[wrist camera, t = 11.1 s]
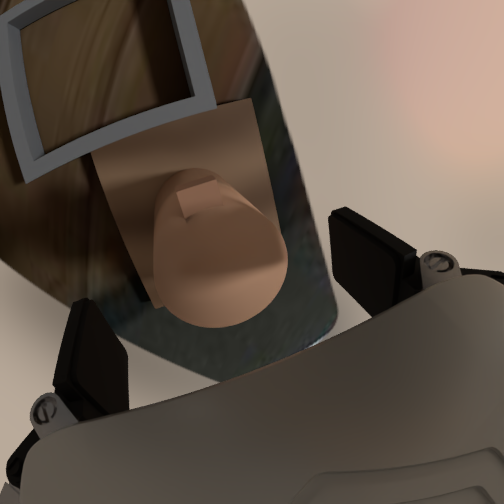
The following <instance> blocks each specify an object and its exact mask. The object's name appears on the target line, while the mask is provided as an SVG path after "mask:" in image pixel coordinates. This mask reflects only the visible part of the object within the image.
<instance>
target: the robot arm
mask: <svg viewBox="0 0 504 504" xmlns="http://www.w3.org/2000/svg"><path fill="white" fill-rule="evenodd" d="M328 223H329V234H330V245H331V258H332V272H333V276H334V278H335V280H336V281H337V282H338V283H339V284H340V285H341V286H342V287H343V288H344V289H345V290H346V291H347V292H348V293H349V294H350V295H351V296H352V297H353V298H354V299H355V300H356V301H357V302H358V303H359V304H360V305H361V306H362V307H363V308H364V309H365V310H366V311H367V312H368V314H369V315H370V316H371V317H372V318H370V319H368V320H366V321H364V322H362V323H360V324H358V325H356V326H354V327H352V328H350V329H348V330H347V331H344V332H342V333H340V334H338V335H336V336H334V337H331V338H330V339H327V340H325V341H323V342H321V343H318V344H316V345H314V346H312V347H309V348H307V349H305V350H303V351H300V352H298V353H296V354H293V355H291V356H289V357H286V358H284V359H281V360H279V361H277V362H274V363H272V364H269V365H267V366H264V367H262V368H259V369H256V370H254V371H251V372H249V373H246V374H243V375H241V376H238V377H235V378H232V379H229V380H227V381H224V382H221V383H218V384H215V385H212V386H209V387H206V388H204V389H200V390H197V391H194V392H191V393H188V394H185V395H181V396H178V397H175V398H171V399H168V400H164V401H161V402H157V403H154V404H150V405H147V406H142V407H139V408H135V409H131V410H129V393H128V392H129V390H128V355H127V352H126V350H125V348H124V347H123V345H122V344H121V342H120V341H119V339H118V338H117V336H116V335H115V333H114V332H113V330H112V329H111V327H110V326H109V324H108V323H107V321H106V320H105V318H104V316H103V315H102V313H101V312H100V310H99V308H98V307H97V305H96V303H95V302H94V301H93V300H89V299H88V298H84V299H81V300H78V301H76V302H73V304H72V307H71V311H70V314H69V317H68V321H67V325H66V328H65V332H64V335H63V339H62V343H61V347H60V351H59V355H58V360H57V364H56V369H55V374H54V379H53V386H54V387H55V392H54V393H45V394H43V395H41V396H40V397H39V398H38V399H37V400H36V401H35V402H34V404H33V406H32V408H31V412H30V421H31V423H32V425H33V427H34V429H33V430H32V431H31V432H30V433H29V435H28V436H27V437H26V438H25V439H24V441H23V442H22V443H21V444H20V445H19V447H18V448H17V449H16V450H15V452H14V453H13V454H12V455H11V457H10V458H9V460H8V461H7V466H6V474H7V477H8V480H9V484H8V483H6V482H5V484H4V486H3V489H2V491H1V494H0V504H504V273H502V272H499V271H489V270H478V269H465V268H460V267H459V264H458V262H457V260H456V259H455V258H454V257H453V256H452V255H451V254H449V253H446V252H443V251H437V250H435V251H429V252H426V253H424V254H423V255H422V256H421V257H420V258H419V257H417V256H416V253H417V252H416V251H417V250H416V249H415V248H413V247H412V246H410V245H408V244H407V243H405V242H404V241H402V240H401V239H399V238H397V237H396V236H394V235H393V234H391V233H390V232H388V231H386V230H385V229H383V228H381V227H380V226H378V225H376V224H375V223H373V222H372V221H370V220H368V219H366V218H365V217H363V216H361V215H359V214H358V213H356V212H355V211H353V210H351V209H349V208H347V207H343V208H339V209H336V210H333V211H332V212H331V215H330V216H329V217H328Z"/></svg>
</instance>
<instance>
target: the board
mask: <svg viewBox="0 0 504 504" xmlns="http://www.w3.org/2000/svg"><path fill="white" fill-rule="evenodd" d="M91 156H92V159H93V162H94V165H95V168H96V171H97V174H98V176H99V179H100V182H101V185H102V188H103V190H104V193H105V196H106V199H107V201H108V204H109V206H110V209H111V212H112V214H113V217H114V219H115V222H116V224H117V227H118V229H119V231H120V234H121V236H122V239H123V241H124V243H125V246H126V248H127V250H128V252H129V255H130V257H131V259H132V261H133V264H134V266H135V268H136V270H137V272H138V274H139V276H140V279H141V281H142V283H143V285H144V287H145V289H146V291H147V293H148V295H149V297H150V299H151V301H152V303H153V305H154V307H155V309H157V308H160V307H162V306H165V305H164V304H163V303H162V301H161V299H160V297H159V296H158V293H157V290H156V287H155V283H154V273H153V246H154V210H155V201H156V197H157V194H158V192H159V190H160V188H161V187H162V185H163V184H164V183H165V182H166V181H167V180H168V179H169V178H170V177H171V176H173V175H174V174H176V173H178V172H180V171H183V170H186V169H191V168H202V169H207V170H210V171H212V172H215V173H216V174H218V175H220V176H221V177H222V178H223V179H224V180H225V181H227V182H228V183H229V184H230V185H231V186H232V187H233V188H234V189H236V190H237V191H238V192H239V193H240V194H241V195H242V196H243V197H244V198H246V199H247V200H248V201H249V202H250V203H251V204H252V205H253V206H254V207H255V208H257V209H258V210H259V211H260V212H261V213H262V214H263V215H264V216H265V217H266V218H268V219H269V220H270V221H271V222H272V223H273V224H274V225H275V227H276V228H277V229H278V230H279V232H280V227H279V222H278V217H277V212H276V207H275V202H274V197H273V193H272V188H271V183H270V179H269V174H268V169H267V165H266V160H265V156H264V151H263V147H262V143H261V138H260V134H259V129H258V125H257V121H256V117H255V112H254V108H253V104H252V100H251V98H249V99H244V100H239V101H235V102H231V103H226V104H222V105H218V106H217V109H213V110H209V111H206V112H202V113H198V114H195V115H191V116H188V117H184V118H181V119H178V120H175V121H171V122H168V123H165V124H162V125H159V126H156V127H153V128H150V129H147V130H144V131H142V132H139V133H136V134H133V135H131V136H128V137H125V138H123V139H120V140H118V141H115V142H113V143H110V144H108V145H105V146H103V147H101V148H98V149H96V150H94V151H91ZM280 234H281V232H280Z"/></svg>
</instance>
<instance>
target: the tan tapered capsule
mask: <svg viewBox="0 0 504 504" xmlns="http://www.w3.org/2000/svg"><path fill="white" fill-rule="evenodd" d="M287 263H288V257H287V249H286V245H285V242H284V240H283V237H282V235H281V234H280V232H279V230H278V229H277V228H276V227H275V225H274V224H273V223H272V222H271V221H270V220H269V219H268V218H266V217H265V216H264V215H263V214H262V213H261V212H260V211H259V210H258V209H257V208H255V207H254V206H253V205H252V204H251V203H250V202H249V201H248V200H247V199H246V198H244V197H243V196H242V195H241V194H240V193H239V192H238V191H237V190H236V189H234V188H233V187H232V186H231V185H230V184H229V183H228V182H227V181H225V180H224V179H223V178H222V177H221V176H220V175H218V174H216V173H215V172H212V171H210V170H207V169H202V168H191V169H186V170H183V171H180V172H178V173H176V174H174V175H173V176H171V177H170V178H169V179H168V180H167V181H166V182H165V183H164V184H163V185H162V187H161V188H160V190H159V192H158V194H157V197H156V201H155V210H154V246H153V273H154V283H155V287H156V290H157V293H158V296H159V297H160V299H161V301H162V303H163V304H164V305H165V306H166V308H167V309H168V310H169V311H170V312H171V313H172V314H174V315H175V316H177V317H178V318H179V319H181V320H183V321H185V322H187V323H190V324H193V325H196V326H200V327H208V328H218V327H227V326H232V325H235V324H238V323H241V322H243V321H246V320H248V319H250V318H251V317H253V316H255V315H256V314H258V313H259V312H261V311H262V310H263V309H264V308H265V307H266V306H267V305H268V304H269V303H270V302H271V301H272V300H273V299H274V297H275V296H276V295H277V293H278V291H279V290H280V288H281V286H282V284H283V281H284V279H285V275H286V271H287Z"/></svg>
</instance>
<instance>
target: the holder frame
mask: <svg viewBox="0 0 504 504" xmlns="http://www.w3.org/2000/svg"><path fill="white" fill-rule="evenodd" d="M74 1H76V0H25V1H23V2H21V3H20V4H18V5H16V6H15V7H13V8H12V9H10V10H8V11H7V12H5V13H4V14H2V15H1V16H0V86H1V92H2V98H3V103H4V108H5V113H6V117H7V122H8V126H9V130H10V134H11V138H12V141H13V145H14V148H15V152H16V155H17V159H18V162H19V165H20V168H21V171H22V174H23V177H24V180H25V183H26V184H27V183H29V182H30V181H32V180H34V179H36V178H38V177H40V176H42V175H44V174H46V173H48V172H50V171H51V170H53V169H55V168H57V167H59V166H61V165H64V164H66V163H68V162H70V161H72V160H74V159H76V158H78V157H80V156H83V155H85V154H87V153H89V152H91V151H94V150H96V149H98V148H101V147H103V146H105V145H108V144H110V143H113V142H115V141H118V140H120V139H123V138H125V137H128V136H131V135H133V134H136V133H139V132H142V131H144V130H147V129H150V128H153V127H156V126H159V125H162V124H165V123H168V122H171V121H175V120H178V119H181V118H184V117H188V116H191V115H195V114H198V113H202V112H206V111H209V110H213V109H217V105H216V101H215V97H214V93H213V89H212V85H211V82H210V78H209V74H208V70H207V66H206V62H205V58H204V54H203V50H202V47H201V43H200V39H199V35H198V31H197V27H196V23H195V19H194V16H193V12H192V8H191V4H190V0H167V3H168V7H169V11H170V16H171V20H172V24H173V28H174V32H175V36H176V40H177V44H178V48H179V52H180V56H181V60H182V63H183V67H184V71H185V75H186V79H187V83H188V87H189V90H190V94H191V98H187V99H184V100H180V101H177V102H173V103H170V104H167V105H164V106H160V107H157V108H154V109H151V110H148V111H145V112H143V113H140V114H137V115H134V116H131V117H129V118H126V119H123V120H121V121H118V122H116V123H113V124H111V125H108V126H106V127H103V128H101V129H99V130H96V131H94V132H92V133H89V134H87V135H85V136H83V137H80V138H78V139H76V140H74V141H72V142H70V143H68V144H66V145H64V146H62V147H60V148H58V149H56V150H54V151H52V152H50V153H48V154H46V155H45V153H44V150H43V147H42V143H41V140H40V136H39V133H38V129H37V125H36V121H35V117H34V113H33V109H32V105H31V100H30V96H29V91H28V86H27V80H26V75H25V69H24V62H23V55H22V47H21V38H20V29H22V28H24V27H25V26H27V25H29V24H30V23H32V22H34V21H36V20H38V19H39V18H41V17H43V16H45V15H47V14H49V13H51V12H53V11H55V10H57V9H59V8H61V7H63V6H65V5H67V4H69V3H72V2H74Z"/></svg>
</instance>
